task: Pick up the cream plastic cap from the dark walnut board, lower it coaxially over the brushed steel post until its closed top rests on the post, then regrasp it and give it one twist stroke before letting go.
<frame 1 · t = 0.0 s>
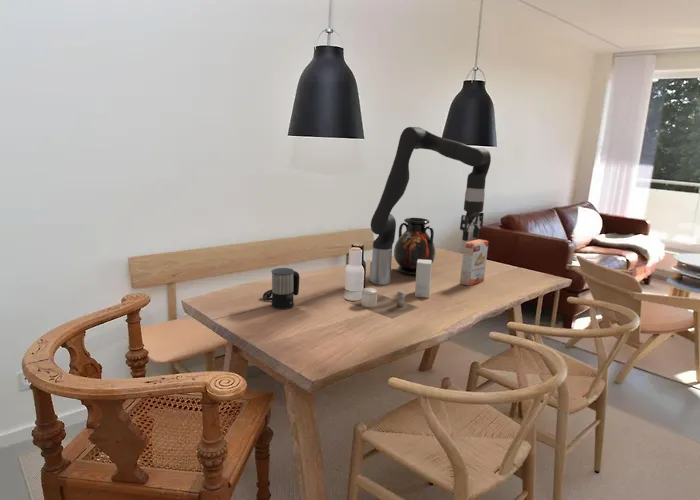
hand: (470, 239, 193), 29 cm above the table, fingers open, 8 cm apart
skincare box: (421, 295, 214), on the table
post board: (384, 308, 194), on the table
amphora vase: (413, 272, 249), on the table
cap: (368, 304, 194), point 1 cm above the table, touching post board
milk frother: (277, 303, 196), on the table
cracker box: (472, 282, 235), on the table
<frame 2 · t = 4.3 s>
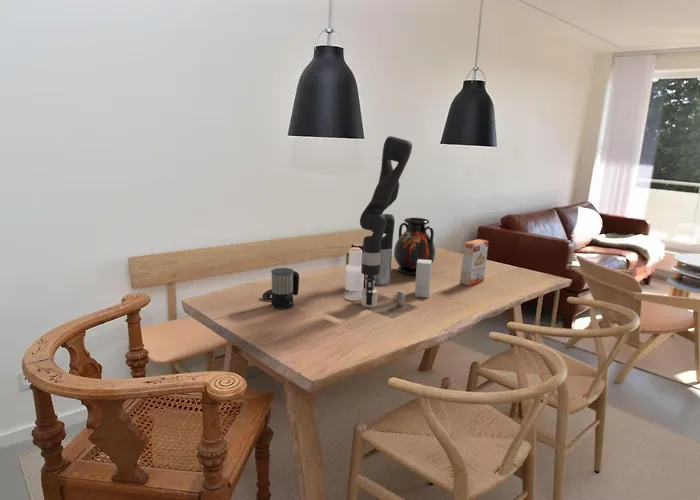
hand: (369, 301, 194), 3 cm above the table, fingers closed on cap, 6 cm apart
cap: (368, 304, 194), point 1 cm above the table, touching gripper, post board
everything else where it was.
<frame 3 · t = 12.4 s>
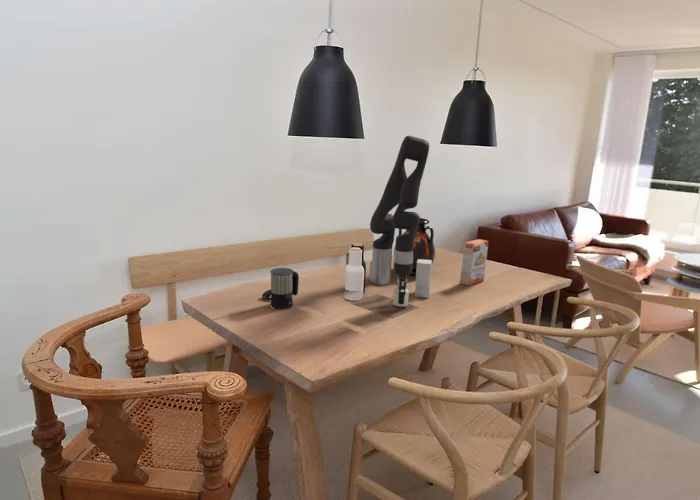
hand: (400, 300, 193), 4 cm above the table, fingers closed on cap, 6 cm apart
cap: (400, 303, 193), point 3 cm above the table, touching gripper, post board
everything else where it was.
when the fingers open (4 cm above the table, at t = 13.8 s): cap stays where it is, resting on post board.
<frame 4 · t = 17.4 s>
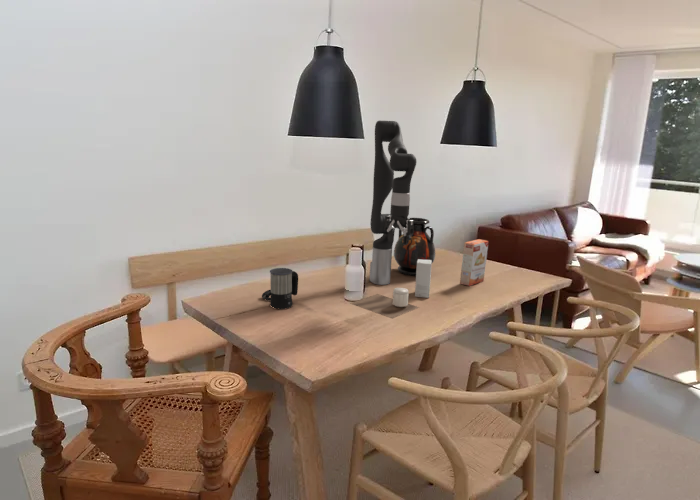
hand: (397, 242, 196), 26 cm above the table, fingers open, 8 cm apart
cap: (400, 304, 193), point 2 cm above the table, touching post board
everything else where it was.
at the end: cap 0.2 cm from the target spot on the post board, point 2.5 cm above the post board's base; cap tilted 0°; the gripper is holding nothing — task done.
